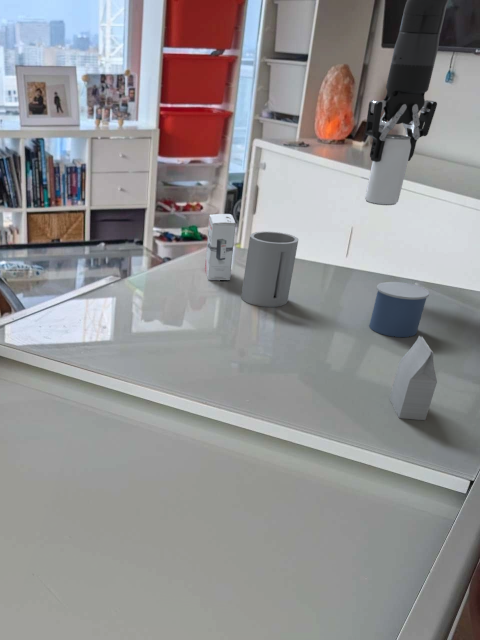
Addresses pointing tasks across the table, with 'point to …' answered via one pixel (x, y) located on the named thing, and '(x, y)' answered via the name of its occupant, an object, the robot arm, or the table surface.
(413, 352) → the grey milk carton
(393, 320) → the yogurt tub
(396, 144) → the can
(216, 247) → the ink box
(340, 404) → the table surface
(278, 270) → the cup
